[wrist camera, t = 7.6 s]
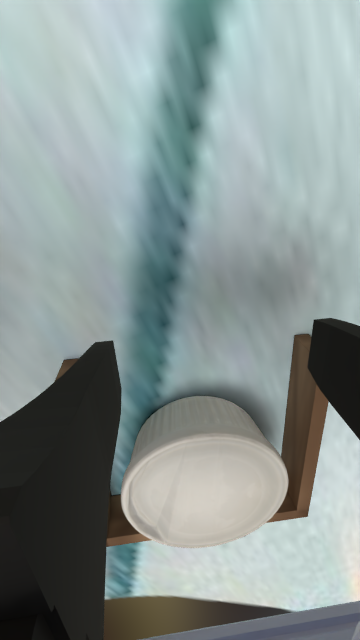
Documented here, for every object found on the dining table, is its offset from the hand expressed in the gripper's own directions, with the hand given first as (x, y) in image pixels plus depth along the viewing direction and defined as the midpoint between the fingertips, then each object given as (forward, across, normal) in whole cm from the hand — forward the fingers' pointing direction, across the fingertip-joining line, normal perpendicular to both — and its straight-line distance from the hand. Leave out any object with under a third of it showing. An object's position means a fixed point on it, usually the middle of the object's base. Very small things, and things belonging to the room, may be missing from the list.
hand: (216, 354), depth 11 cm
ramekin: (+9, 0, +14) cm, 17 cm away
